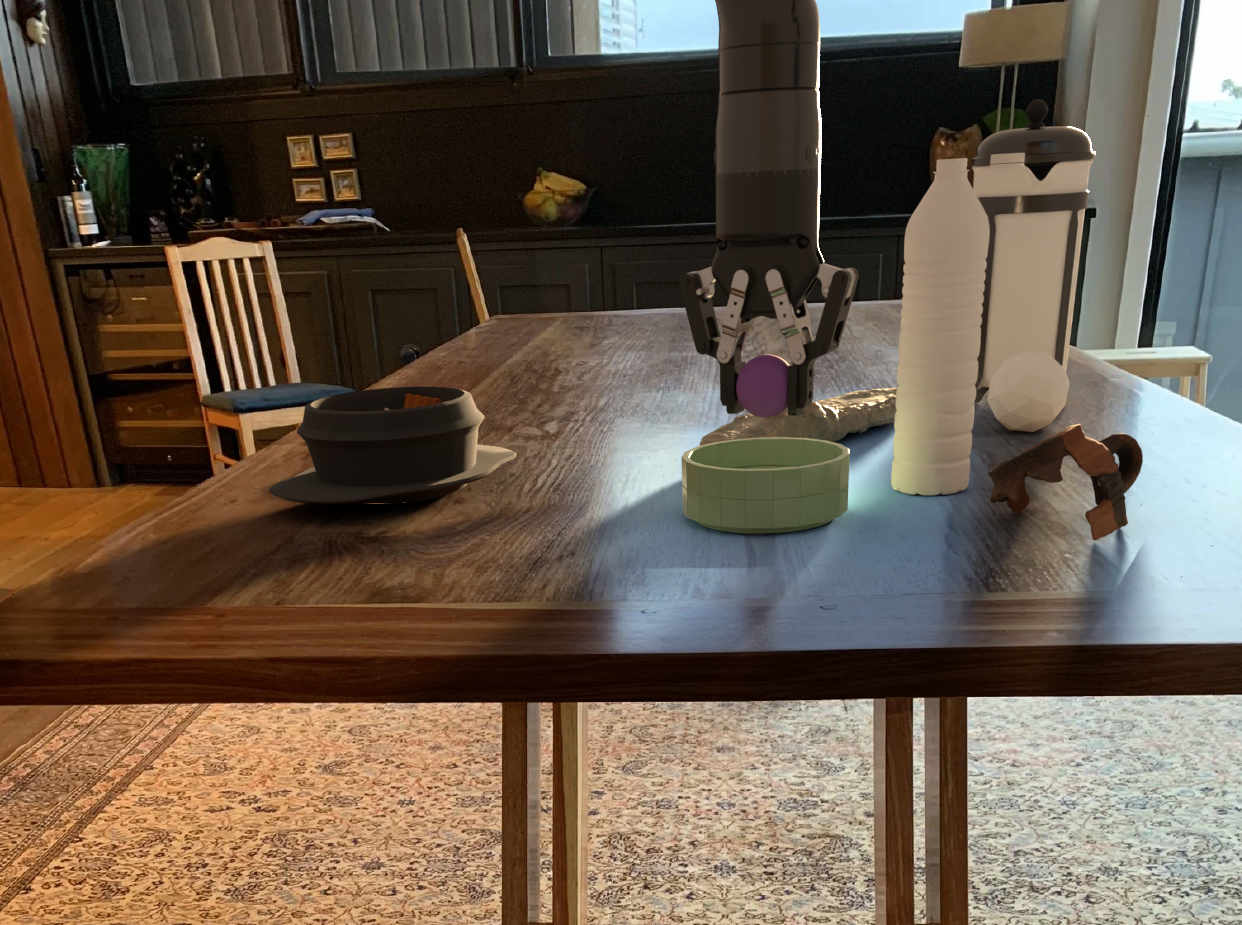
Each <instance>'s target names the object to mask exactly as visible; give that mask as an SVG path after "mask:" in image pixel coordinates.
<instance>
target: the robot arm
mask: <svg viewBox="0 0 1242 925" xmlns="http://www.w3.org/2000/svg"><path fill="white" fill-rule="evenodd" d="M714 2H715V7H716V11H717V19H718V41H717V42H718V46H717V50H718V54H717V57H718V58H717V59H718V63H717V66H718V67H717V68H718V72H717V73H718V74H717V76H718V95H719V96H718V98H717V100H718V102H717V114H716V122H715V137H714V139H715V140H714V141H715V142H714V144H715V145H714V146H715V148H714V149H715V150H714V154H713V165H714V167H715V238H716V244H717V246H716V252H715V256H714V258H713V260H712V263H711V266H709V267H706V268H703V269H701V270H696V271H690V272H686V273H682V275H680V276H679V279H678V285H679V286H678V287H679V290H680V293H681V297H682V301H683V304H684V309H685V312H686V317H687V320H688V324H689V328H690V332H691V336H692V339H693V344H694V347H695V351H696V353H698V354H699V355H702V356H703V355H707V356H709V357H711V358H713V359H715V360H716V361H717V363H718V365H719V399H720V403H721V405H722V406H723V407H726V409H725V410H726V413H727V414H728V415H738V414H740V413H742V412H744V411H745V409H744V407H743V406H742V405H741V403H740V401H739V399H738V396H737V391H736V383H737V378H738V375H739V373H740V371H741V369H742V368H743V366H744V365H745V364H746V360H742V356H743V354H744V350H745V347H746V343H747V340H748V336H749V333H750V331H751V330H752V328H753V326H754V322H755V319H756V318H760V317H764V318H768V319H770V320H777V323H778V328H779V330H780V333H781V334H782V335H783V337H784V340H785V343H786V346H787V350H788V354H789V359H790V360H791V362H792V363H791V364H789V366H788V415H789V416H799V415H801V414H803V413H804V412H805V410H806V407H807V406H810V405H811V402H812V401H814V400H813V399H814V381H815V380H814V378H815V377H814V376H815V375H814V374H815V363H816V360H818V359H819V358H820V357H823V356H825V355H828V354H830V353H832V352H835V351H836V350H838V348H839V346H840V343H841V340H842V336H843V333H844V329H845V327H846V322H847V319H848V315H849V312H850V308H851V305H852V302H853V298H854V295H855V292H856V289H857V285H858V281H859V278H860V276H859V271H858V270H857V269H856V268H855V267H847V268H841V267H838V266H835V265H831V264H829V263H825V260H824V258H823V255H822V253H821V251H820V247H819V231H820V202H821V201H820V198H821V197H820V195H821V164H822V162H821V161H822V160H821V159H822V117H821V116H822V115H821V108H820V91H819V88H820V56H821V54H820V51H821V50H820V49H821V24H820V22H821V21H820V12H819V7H818V4H817V2H816V0H714ZM818 280H819V281H820V283H821V295H822V296H823V297H824V298H825V302H824V305H823V310H822V313H821V316H820V320H819V323H818V327H817V331H816V335H815V337H814V335H813V332H812V328H811V327H812V319H811V314H810V311H809V307H808V303H807V297H808V296H809V294H810V293H811V291H812V289H813V288H814V287H815V285H816V283H817V282H818ZM715 283H716V284H717V285H718V287H719V289H720V290H721V291H722V293H723V295H724V296H725V298H726V300H727V305H726V308H725V312H724V315H723V319H722V323H721V330H722V331H720V327H719V324H718V320H717V316H716V312H715V308H714V304H713V300H712V297H713V296H714V294H715V289H716V288H715Z"/></svg>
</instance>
